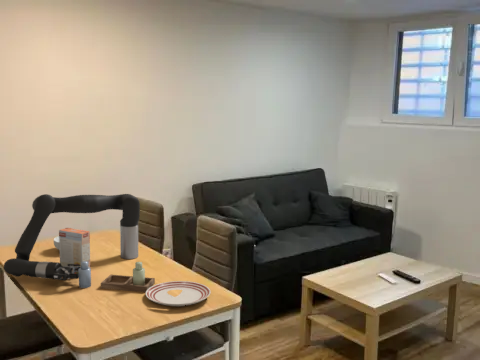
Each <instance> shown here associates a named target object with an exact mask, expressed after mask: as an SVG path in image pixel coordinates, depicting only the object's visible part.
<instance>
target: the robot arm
mask: <svg viewBox="0 0 480 360" xmlns="http://www.w3.org/2000/svg"><path fill="white" fill-rule="evenodd" d="M140 204H141V203H140V199H138V198H137V197H136V196H134V195H132V194H131V193H122V194H115V195H103V194H79V195H78V194H77V195H70V196H65V197H58V196H57V197H53V196H52V195H50V194H41V195H39V196H37V197H36V198H34V199H33V201H32V204H31V207H32V210H33V213H32V216H31V218H30V220H29V222H28V224H27V225H26V227H25V228H24V230H23V232H22V233H21V236H20V237H19V239H18V241H17V243H16V246H15V248H14V253H15V254H16V257H15V258H10V259H8V260H6V261H5V262H4V264H3V270H4V272H6V273H7V274H8V275H10V276H13V277H16V278H19V277H21V276H26V277H29V278H30V277H31V278H39V279H46V280H58V281H67V280H70V279H73V280H74V279H75V280H79V274H77V273H75V272H79V270H78V269H79V268H81V267H80V264H68V266H64V267H63V266H62V265H61V263H60V262H55V261H35V260H30V259H31V258H30V257H31V253H32V251H33V249H34V247H35V244H36V243H37V240H38V238H39V235H40V233H41V230H42V229H43V227H44V225H45V224H46V221H47V220H48V218H49V216H50V215H51V214H59V213H66V214H67V213H70V214H94V213H100V212H103V211H107V210H108V211H109V210H116V211H117V210H118V211H122V214H121V215H122V217H121V219H120V221H119V223H120V225H119V229H120V230H119V233H120V234H119V237H120V238H119V239H120V242H119V243H120V245H119V246H120V258H121V259H124V260H132V259H136V258H138V257H139V220H140V214H141V210H140V209H141V207H140V206H141V205H140ZM72 270H73V271H72Z"/></svg>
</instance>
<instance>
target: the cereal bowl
mask: <svg viewBox="0 0 480 360" xmlns="http://www.w3.org/2000/svg"><path fill="white" fill-rule="evenodd" d="M53 246H54V248H56V249H57V250H58V251H60V248H59V235H57V236H56V237H54V238H53Z"/></svg>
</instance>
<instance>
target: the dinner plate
mask: <svg viewBox="0 0 480 360" xmlns="http://www.w3.org/2000/svg"><path fill="white" fill-rule="evenodd" d="M175 290H178V291H181V292H180V293H179V294H178V295H176V296H173V295H172V294H169V293H168V292H170V291H175ZM211 292H212V291H211V289H210V288H209V287H208V285H205V284H202V283H199V282H196V281H195V282H194V281H188V280H174V281H166V282H161V283H156V284H154V285H153V286H152V287H150V288H149V289H148V290H147V291H146V292H145V296H146V298H147V299H148V300H149V301H151V302H154V303H156V304H159V305H162V306H170V307H185V305H186V306H190V305H191V306H192V305H195V304H197V303H200V302H203V301H204V300H206V299H207V298H208V297H210V295H211Z"/></svg>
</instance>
